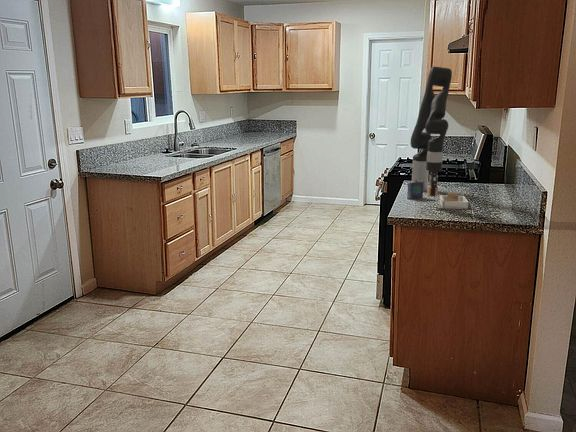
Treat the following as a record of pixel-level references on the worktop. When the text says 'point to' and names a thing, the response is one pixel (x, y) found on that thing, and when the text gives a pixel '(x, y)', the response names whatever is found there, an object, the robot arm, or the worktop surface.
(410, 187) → the flask
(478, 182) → the worktop surface
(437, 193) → the terracotta block
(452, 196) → the walnut block
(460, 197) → the tray
